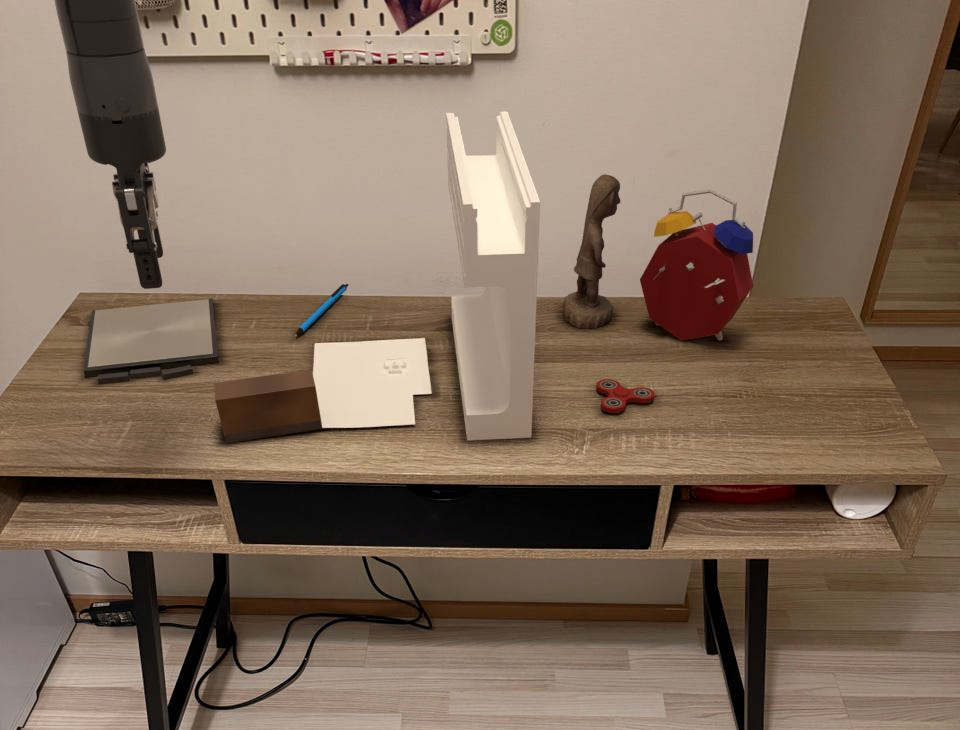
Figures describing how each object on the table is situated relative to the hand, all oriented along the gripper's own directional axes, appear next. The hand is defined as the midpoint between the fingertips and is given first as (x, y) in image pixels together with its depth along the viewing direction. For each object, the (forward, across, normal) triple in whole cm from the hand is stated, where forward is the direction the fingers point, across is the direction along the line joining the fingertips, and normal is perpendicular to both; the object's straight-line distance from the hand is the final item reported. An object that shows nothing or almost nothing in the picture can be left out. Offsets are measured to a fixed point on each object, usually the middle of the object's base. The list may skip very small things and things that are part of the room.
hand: (153, 271), depth 101 cm
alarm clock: (+20, -14, +71) cm, 75 cm away
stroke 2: (+21, -20, -6) cm, 29 cm away
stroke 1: (+21, -19, -10) cm, 30 cm away
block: (+20, -10, +40) cm, 46 cm away
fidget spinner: (+20, +2, +55) cm, 59 cm away
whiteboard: (+21, -31, -5) cm, 38 cm away
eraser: (+21, -1, +10) cm, 23 cm away
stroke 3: (+20, -19, -1) cm, 28 cm away
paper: (+21, -10, +24) cm, 34 cm away
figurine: (+20, -24, +59) cm, 67 cm away
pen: (+21, -34, +20) cm, 45 cm away
